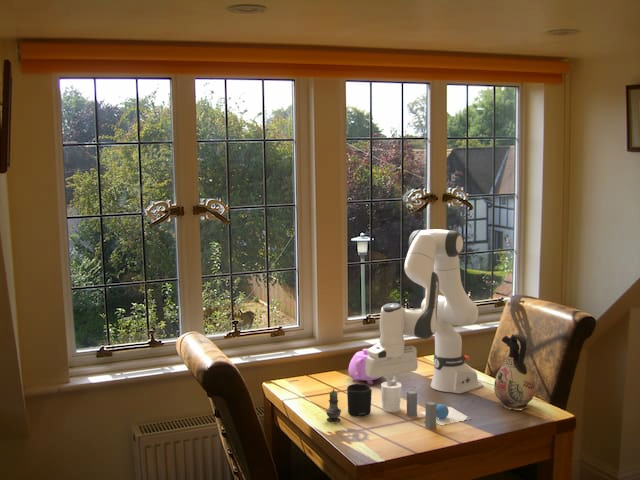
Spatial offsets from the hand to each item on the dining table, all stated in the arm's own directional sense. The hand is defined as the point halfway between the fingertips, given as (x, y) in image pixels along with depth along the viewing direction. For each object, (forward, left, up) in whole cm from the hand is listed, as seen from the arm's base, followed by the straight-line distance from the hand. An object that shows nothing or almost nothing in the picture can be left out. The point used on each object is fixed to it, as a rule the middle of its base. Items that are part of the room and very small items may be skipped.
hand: (391, 385), depth 251 cm
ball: (-21, +1, -13) cm, 25 cm away
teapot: (-18, -51, -16) cm, 56 cm away
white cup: (-9, -15, -16) cm, 23 cm away
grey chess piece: (+16, -15, -16) cm, 27 cm away
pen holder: (+4, -17, -16) cm, 23 cm away
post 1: (-13, -6, -16) cm, 21 cm away
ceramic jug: (-54, +4, -16) cm, 56 cm away
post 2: (-13, +6, -16) cm, 21 cm away
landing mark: (-24, 0, -16) cm, 28 cm away
